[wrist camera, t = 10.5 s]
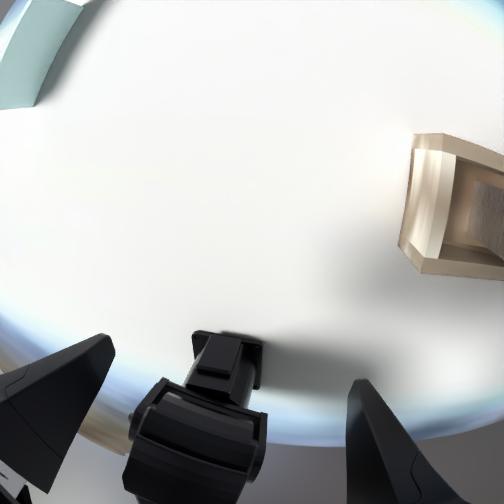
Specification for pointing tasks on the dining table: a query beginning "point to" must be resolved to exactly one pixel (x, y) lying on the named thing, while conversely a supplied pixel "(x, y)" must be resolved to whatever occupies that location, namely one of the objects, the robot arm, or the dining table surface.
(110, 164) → the dining table surface
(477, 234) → the light grey rectangular block
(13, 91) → the l-shaped corner panel
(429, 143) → the beige tray
